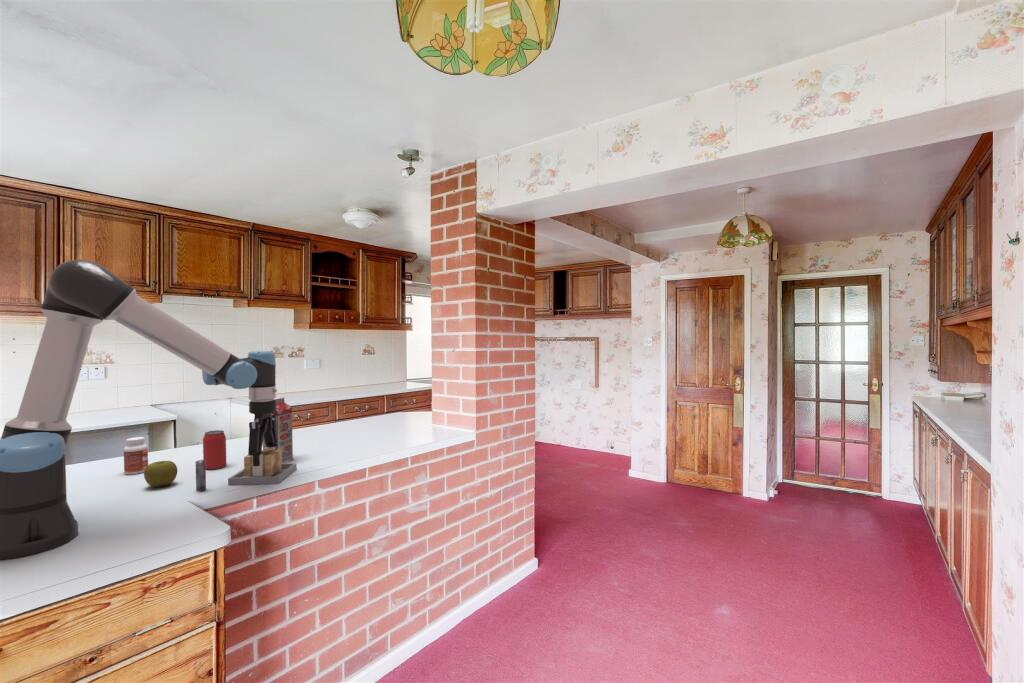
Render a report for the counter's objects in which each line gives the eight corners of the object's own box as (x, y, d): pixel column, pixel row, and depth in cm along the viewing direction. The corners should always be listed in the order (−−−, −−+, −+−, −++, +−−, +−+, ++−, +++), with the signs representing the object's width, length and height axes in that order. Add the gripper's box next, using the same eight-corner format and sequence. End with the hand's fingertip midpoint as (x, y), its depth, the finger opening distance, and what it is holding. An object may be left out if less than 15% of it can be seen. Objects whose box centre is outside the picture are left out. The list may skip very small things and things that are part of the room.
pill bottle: (147, 472, 153) (146, 439, 152) (123, 476, 149) (121, 441, 149) (149, 468, 158) (148, 435, 158) (125, 471, 155) (124, 437, 154)
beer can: (199, 468, 157) (198, 433, 157) (219, 463, 163) (218, 429, 163) (210, 471, 154) (209, 435, 154) (230, 466, 160) (230, 431, 160)
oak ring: (271, 475, 145) (271, 456, 145) (244, 476, 144) (244, 457, 144) (281, 467, 153) (281, 449, 153) (256, 468, 152) (255, 450, 152)
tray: (278, 483, 142) (278, 477, 142) (228, 485, 141) (228, 478, 141) (296, 469, 157) (296, 463, 156) (250, 470, 155) (250, 464, 155)
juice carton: (263, 462, 164) (261, 400, 163) (277, 457, 170) (276, 397, 170) (278, 464, 162) (277, 400, 161) (292, 459, 168) (291, 398, 168)
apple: (143, 485, 141) (143, 462, 140) (176, 479, 146) (175, 457, 146) (145, 492, 135) (144, 467, 135) (179, 486, 140) (178, 462, 140)
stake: (203, 491, 135) (202, 462, 135) (194, 491, 135) (193, 462, 135) (207, 488, 138) (207, 459, 138) (199, 488, 138) (198, 460, 137)
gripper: (260, 405, 138) (261, 481, 139) (287, 394, 158) (289, 461, 159) (233, 405, 137) (235, 482, 138) (264, 395, 158) (265, 462, 159)
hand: (264, 471), depth 149 cm, fingers closed on oak ring, 8 cm apart
